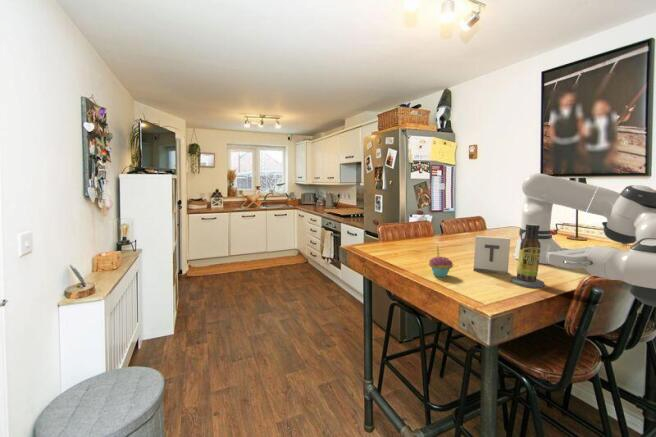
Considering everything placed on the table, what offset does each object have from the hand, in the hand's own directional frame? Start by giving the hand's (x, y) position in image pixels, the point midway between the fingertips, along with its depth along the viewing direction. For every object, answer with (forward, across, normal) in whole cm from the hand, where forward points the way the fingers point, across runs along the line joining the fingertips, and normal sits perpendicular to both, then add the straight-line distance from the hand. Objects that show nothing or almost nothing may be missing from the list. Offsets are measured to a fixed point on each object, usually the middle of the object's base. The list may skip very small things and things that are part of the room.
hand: (552, 251), depth 105 cm
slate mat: (+8, 0, -13) cm, 15 cm away
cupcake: (+27, -22, -13) cm, 37 cm away
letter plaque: (+23, 0, -13) cm, 26 cm away
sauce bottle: (+8, +1, -12) cm, 15 cm away
